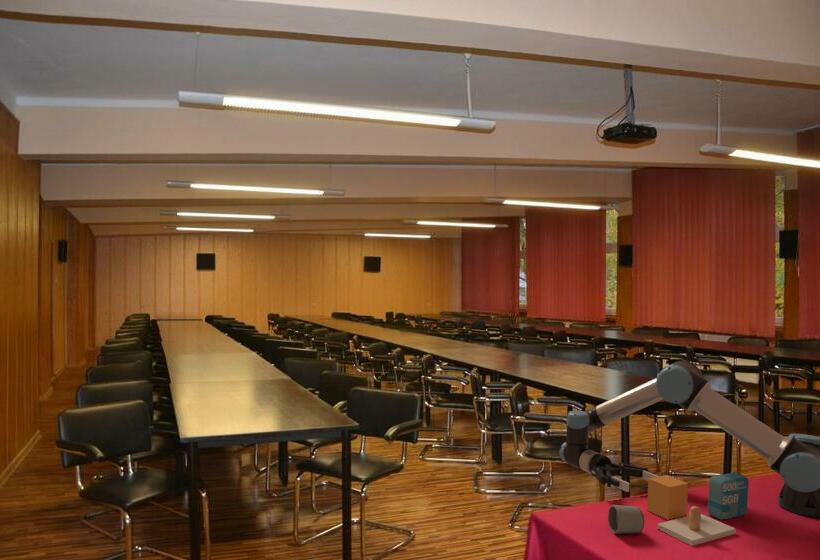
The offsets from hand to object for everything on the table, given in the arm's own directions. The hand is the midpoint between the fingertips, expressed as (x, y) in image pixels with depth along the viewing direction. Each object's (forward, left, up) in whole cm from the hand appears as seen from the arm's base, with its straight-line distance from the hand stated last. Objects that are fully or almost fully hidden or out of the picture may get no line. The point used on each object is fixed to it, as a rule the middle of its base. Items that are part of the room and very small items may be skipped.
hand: (644, 484), depth 216 cm
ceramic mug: (+21, +12, -6) cm, 26 cm away
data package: (-16, +18, -6) cm, 25 cm away
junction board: (+3, +22, -6) cm, 23 cm away
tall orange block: (0, +9, -6) cm, 11 cm away
